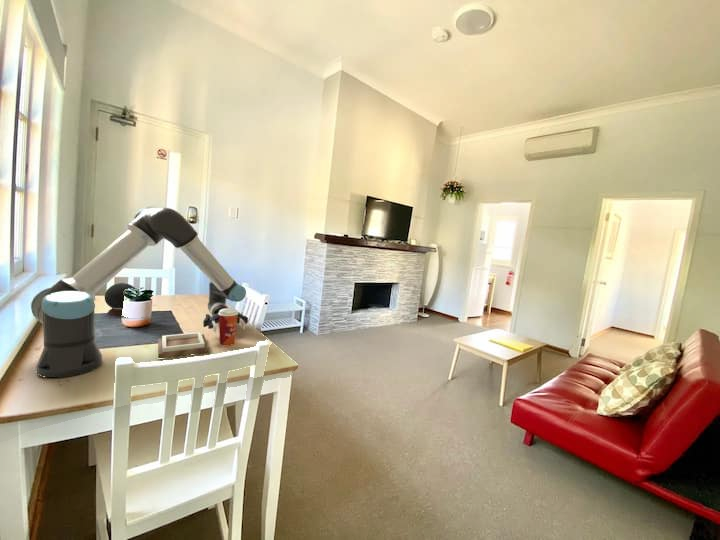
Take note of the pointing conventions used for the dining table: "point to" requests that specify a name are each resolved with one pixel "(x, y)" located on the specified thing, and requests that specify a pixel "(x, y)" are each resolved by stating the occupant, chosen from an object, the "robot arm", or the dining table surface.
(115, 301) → the round bulbous part
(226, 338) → the paper cup
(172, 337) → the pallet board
